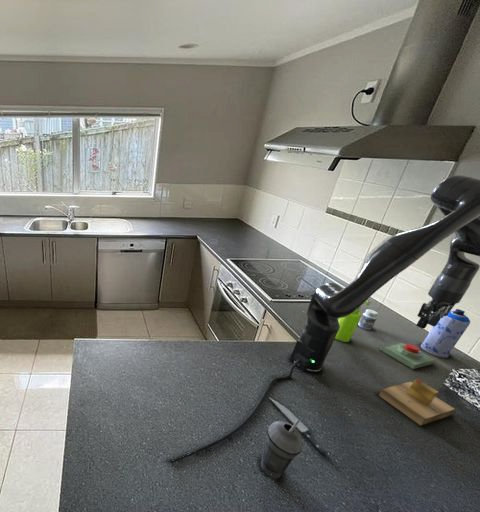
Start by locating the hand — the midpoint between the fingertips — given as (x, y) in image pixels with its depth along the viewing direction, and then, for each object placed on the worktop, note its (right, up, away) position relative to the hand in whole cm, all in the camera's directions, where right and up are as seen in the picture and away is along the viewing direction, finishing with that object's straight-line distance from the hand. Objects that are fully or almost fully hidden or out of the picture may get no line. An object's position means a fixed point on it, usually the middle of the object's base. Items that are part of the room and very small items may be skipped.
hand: (425, 325), depth 106 cm
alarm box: (-1, -14, +6) cm, 16 cm away
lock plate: (-22, -22, -15) cm, 34 cm away
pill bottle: (0, -7, +25) cm, 25 cm away
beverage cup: (-80, -28, -34) cm, 92 cm away
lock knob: (-21, -20, -16) cm, 33 cm away
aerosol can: (+16, -13, +11) cm, 23 cm away
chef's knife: (-65, -24, -22) cm, 73 cm away
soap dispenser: (-18, -10, +16) cm, 26 cm away
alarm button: (0, -11, +5) cm, 12 cm away
